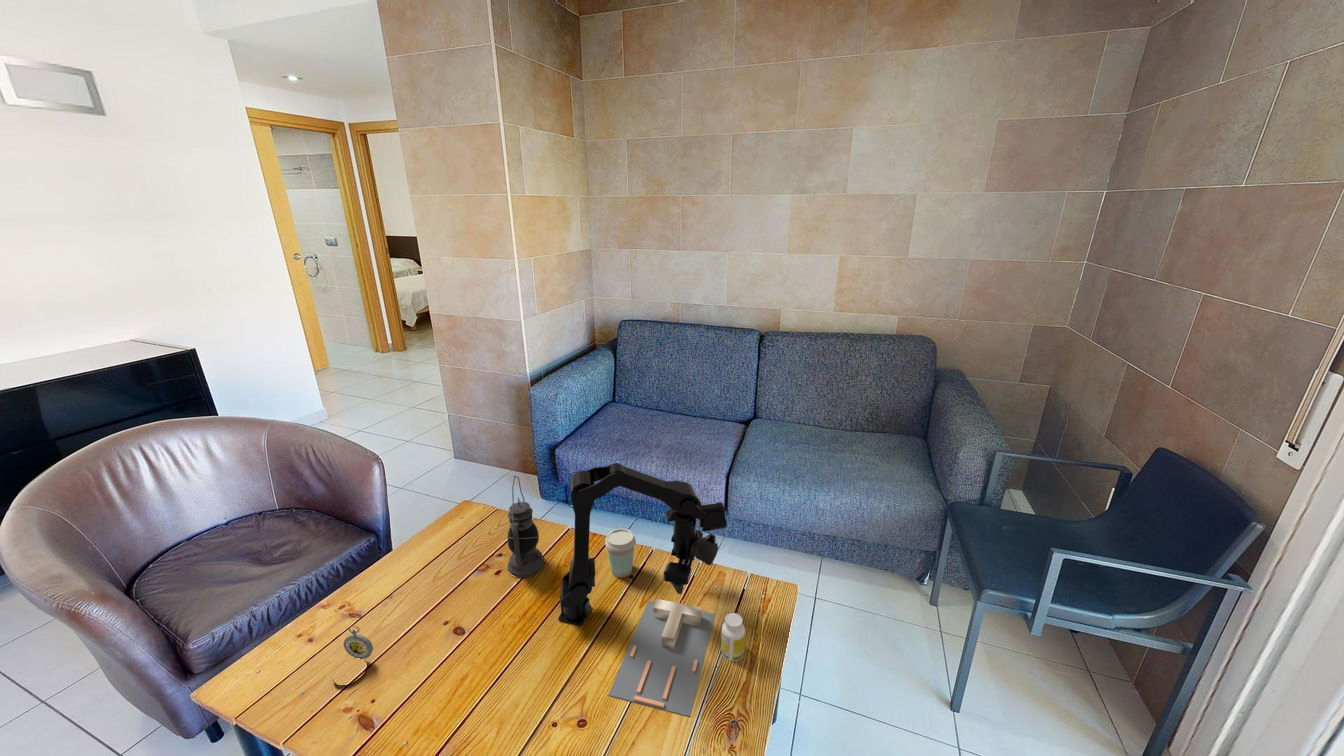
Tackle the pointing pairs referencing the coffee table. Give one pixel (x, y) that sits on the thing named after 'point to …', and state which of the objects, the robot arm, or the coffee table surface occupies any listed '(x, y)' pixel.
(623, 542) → the coffee cup
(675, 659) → the mat
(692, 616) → the t block
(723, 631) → the supplement bottle
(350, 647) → the pocket watch
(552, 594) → the coffee table surface
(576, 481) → the robot arm
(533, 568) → the lantern
